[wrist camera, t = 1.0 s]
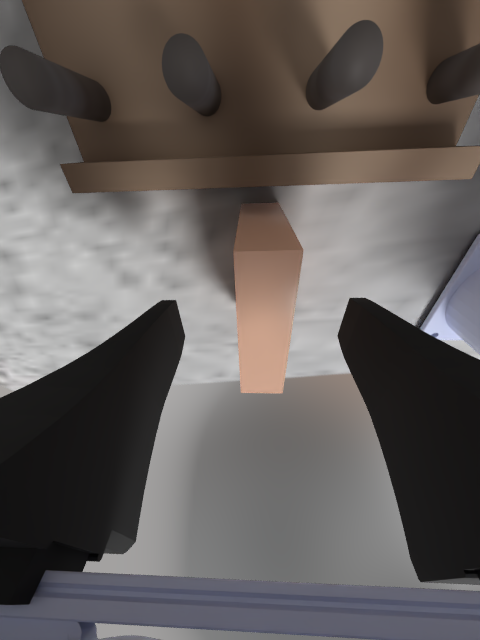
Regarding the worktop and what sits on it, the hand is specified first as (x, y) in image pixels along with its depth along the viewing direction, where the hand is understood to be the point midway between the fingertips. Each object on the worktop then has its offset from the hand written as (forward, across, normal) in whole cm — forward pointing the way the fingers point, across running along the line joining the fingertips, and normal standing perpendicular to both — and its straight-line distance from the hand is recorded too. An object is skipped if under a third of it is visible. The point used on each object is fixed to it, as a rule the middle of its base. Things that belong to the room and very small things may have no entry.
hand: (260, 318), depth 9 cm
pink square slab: (+6, 0, 0) cm, 6 cm away
